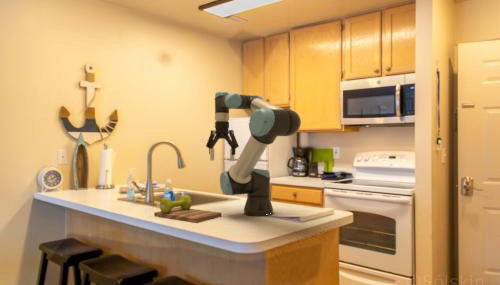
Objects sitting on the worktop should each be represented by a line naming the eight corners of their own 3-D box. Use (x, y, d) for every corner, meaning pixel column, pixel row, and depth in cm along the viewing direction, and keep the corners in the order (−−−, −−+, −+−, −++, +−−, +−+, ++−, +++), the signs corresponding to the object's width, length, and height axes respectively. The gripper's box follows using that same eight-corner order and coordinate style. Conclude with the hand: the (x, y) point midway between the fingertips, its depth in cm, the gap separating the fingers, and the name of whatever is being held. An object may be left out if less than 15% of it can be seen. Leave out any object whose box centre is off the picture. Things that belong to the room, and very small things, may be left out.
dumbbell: (167, 214, 178) (167, 199, 178) (157, 212, 183) (157, 197, 183) (193, 209, 190) (193, 195, 190) (183, 207, 196) (183, 194, 196)
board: (221, 216, 182) (221, 212, 182) (196, 222, 167) (196, 218, 167) (180, 210, 198) (180, 207, 198) (154, 216, 183) (154, 212, 183)
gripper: (245, 120, 194) (245, 161, 194) (208, 122, 207) (208, 159, 207) (236, 120, 187) (236, 161, 187) (199, 121, 201) (199, 160, 201)
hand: (221, 160), depth 197 cm, fingers open, 13 cm apart
